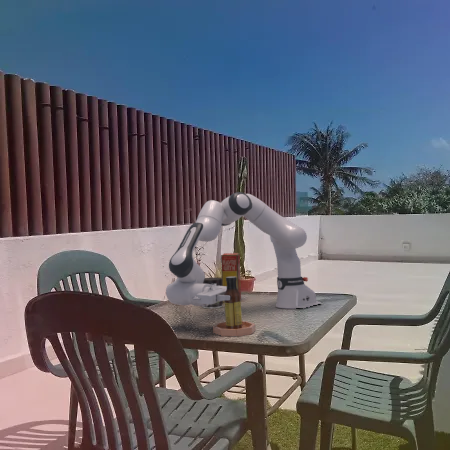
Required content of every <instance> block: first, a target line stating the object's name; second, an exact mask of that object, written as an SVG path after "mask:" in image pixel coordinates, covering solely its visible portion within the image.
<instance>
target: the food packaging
mask: <svg viewBox="0 0 450 450" xmlns="http://www.w3.org/2000/svg"><path fill="white" fill-rule="evenodd" d="M220 259H221V260H220V263H221V264H220V267H221V278H222V286H226V287H227V282H226V277H231V276H234V277H236V278H237V280H236V286H237V289H238V291H239V293H240V301H241V300H242V291H241V289H242V288H241V284H242V283H241V264H240V263H241V253H240V252H238V253H237V252H234V253H233V252H231V253H228V252H227V253H226V252H225V253H223V254H221V255H220ZM222 303H223V304H225V300H224V301H222Z"/></svg>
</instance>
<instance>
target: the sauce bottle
mask: <svg viewBox="0 0 450 450" xmlns="http://www.w3.org/2000/svg"><path fill="white" fill-rule="evenodd" d="M236 280H237V278H236V277H234V276H231V277H226V282H227V290H226V292H225V294H224V295H231V300H225V303H224V314H225V316H224V317H225V318H224V319H225V322H226V328H227V329H241V328H242V321H243V319H242V318H243V316H242V313H243V312H242V301H241V300H240V293H239V291H238V289H237V286H236Z"/></svg>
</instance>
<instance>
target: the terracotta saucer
mask: <svg viewBox="0 0 450 450" xmlns="http://www.w3.org/2000/svg"><path fill="white" fill-rule="evenodd" d="M255 331H256V323H254V322H250V321H246V320H242V328H241V329H227V328H226V321H223V322H217V323H216V324H215V325H213V326H212V333H213V334H214V333H216V334H215V335H217V334H218V336H219V335H221V336H220V337H232V336H238V337H243V335H244V336H249V335H252V334H254V332H255Z"/></svg>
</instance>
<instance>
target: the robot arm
mask: <svg viewBox="0 0 450 450" xmlns="http://www.w3.org/2000/svg"><path fill="white" fill-rule="evenodd" d="M242 217H244V218H245V219H247V221H248V222H250V223H251V224H252V225H254V226H255V227H256V228H258V229H259V230H260V232H261V231H262V233H265V234H267V235H268V236H269V239H270V242H271V243H272V246H273V249H274V253H275V257H276V263H277V277H276V283H277V284H276V285H277V298H276V304H275V307H276V308H279V309H296V308H303V309H307V308H306V307H308V308H311V307H310V306H313V305H317V304H320V303H321V304H322V302H321V301H318V299H317V294H316V292H315V291H314V290H313V289H311V288H310V287H309V286H308V285H306V284H305V282H306V283H307V282H308V280H309V278H308V277H305V276H302V269H301V268H302V267H301V259H300V257H299V255H298V253H297V250H296V249H299V248H301V247H303V246H304V245H305V244H306V243H307V239H308V238H307V237H308V235H307V231H305V229H303V228H302V227H301V226H299V225H297V224H295V223H293V222H292V221H291V220H289V219H287V218H286V217H284V216H282V215H280V214H279V213H278V212H276V211H275V210H274V209H272V208H271V207H269V205H267V204H266V203H265V202H264V201H262V200H261V199H259V198H258V197H256V196H255V195H252V194H250V193H245V192H241V191H237V192H234V193H232V194H231V195H228V196H227V197H226V198H224V199H223V200H221V202H220V201H217V200H213V199H210V200H207V201H206V202H205V203H204V204H203V206H202V208H201V209H200V212H199V213H198V216H197V217H196V221H195V222H194V223H192V224H191V225H190V226H189V227H188V229H187V231H186V233H185V234H184V236H183V239H181V242H180V244H179V246H178V247H177V249H176V251H175V252H174V253H173V255H172V256H171V258H170V259H169V263H168V270H169V271H170V272H171V273H172V274H173V275H174V276H175V277H176V279H175V280H174V281H173V282H172V283H170V284H167V286H166V287H165V288H166V289H165V294H166V298H167V300H168V302H170V303H171V304H174V305H180V306H189V305H190V306H191V305H192V306H194V307H202V306H208V305H209V304H214V303H217V302H220V301H224V300H231V295H224V294H225V292H226V290H227V287H226V286H216V284H203V282H204V279H205V278H206V274H205V272H204V270H203V268H202V267H201V266H200V265H199V264H198V262H196V260H195V258H194V256H193V254H194V251H195V248H196V247H197V245H198V243H199V241H200V242H212V241H214V240H215V239H217V237H218V236H219V233H220V232H221V228H222V227H226V226H230V225H231V224H232V223H235V222H236V221H238V220H240V218H242ZM317 306H318V305H317ZM313 307H314V306H313Z"/></svg>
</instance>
